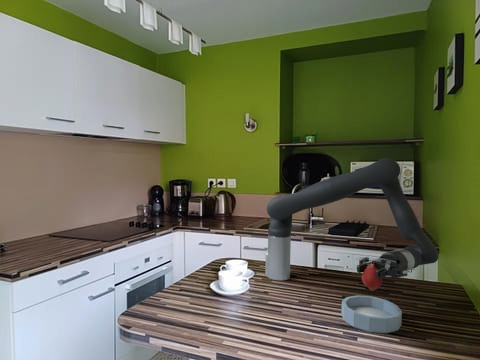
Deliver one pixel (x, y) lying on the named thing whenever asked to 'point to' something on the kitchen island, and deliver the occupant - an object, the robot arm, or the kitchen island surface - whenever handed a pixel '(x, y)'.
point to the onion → (371, 278)
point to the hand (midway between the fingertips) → (367, 271)
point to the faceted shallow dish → (371, 314)
